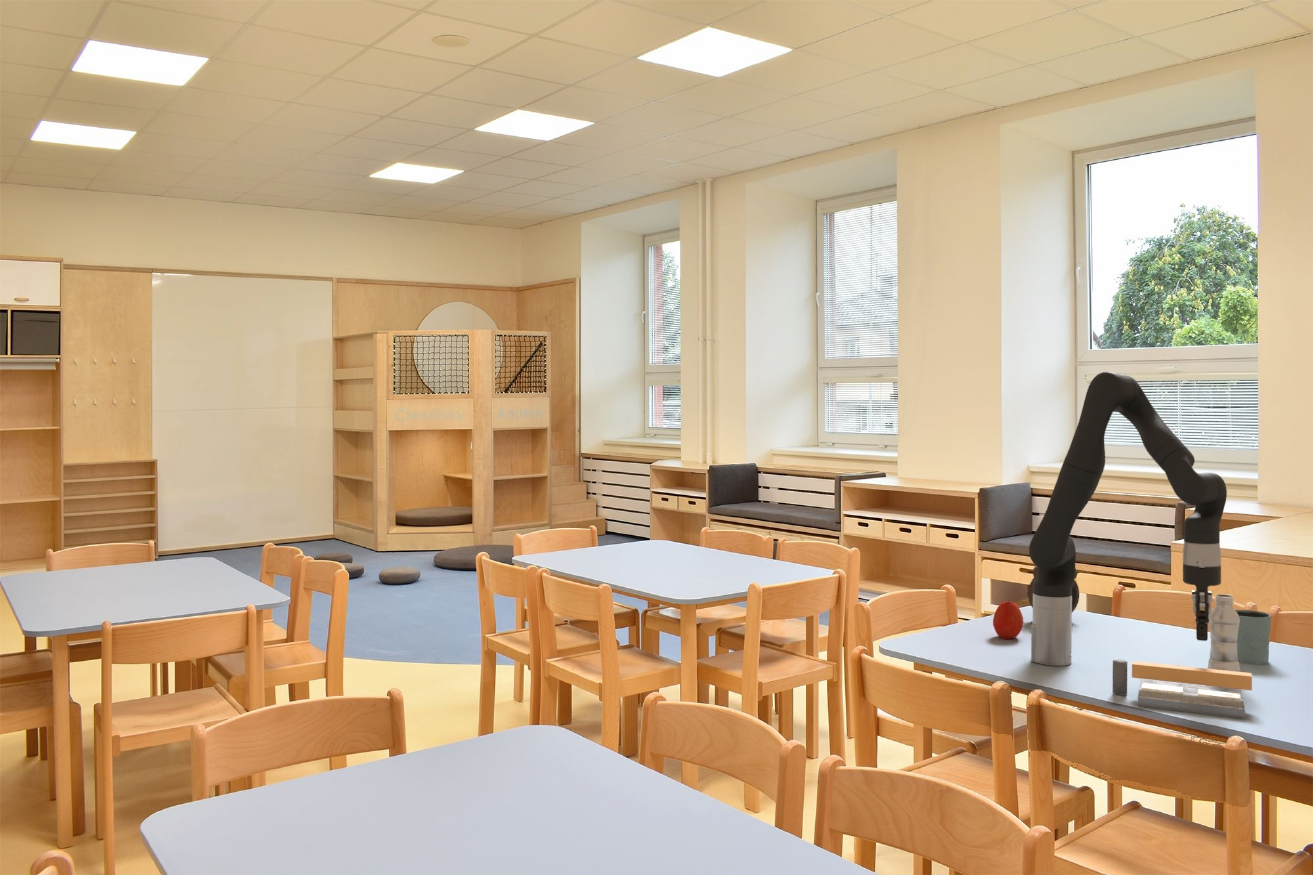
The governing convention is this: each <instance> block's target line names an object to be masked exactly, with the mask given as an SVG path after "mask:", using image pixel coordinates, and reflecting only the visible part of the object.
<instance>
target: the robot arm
mask: <svg viewBox="0 0 1313 875" xmlns="http://www.w3.org/2000/svg"><path fill="white" fill-rule="evenodd" d="M1114 412H1115V413H1119V414H1120V415H1121V416H1123V417H1124V418H1126V420H1128V421H1129V422H1130V423H1131V424H1132V425H1133V426H1134V428H1135V430H1136V431H1137V432H1138V435H1139V437H1140V439H1141V442H1142V444H1143V447H1144V448H1145V450H1146V452H1147V453H1148V455H1149V456H1150V457H1151V458H1152V460H1153V461H1154V462H1155V463H1156V464H1157V465H1158V466H1159V467H1160V469H1161V470H1162V471H1163V472H1164V474H1165V475H1166V478H1167V480H1168V483H1169V484H1170V486H1171V488H1172V490H1173V492H1174V493H1175V495H1176V496H1177V497H1178V499H1180V500H1181V501H1182V502H1183V503H1185V504H1187V505H1190V506H1195V507H1194V511H1193V513H1192V514H1190V515H1189V516H1187V517H1186V518H1185V519H1184V521H1183V548H1182V582H1183V583H1184V584H1187V585H1190V586H1195V590H1191V600H1192V606H1193V608H1192V609H1193V610H1192V611H1193V614H1194V616H1195V618H1194V622H1195V624H1196V625H1195V626H1196V630H1195V633H1196V637H1195V638H1196V640H1197V641H1203V642H1206V641H1208V638H1209V637H1208V635H1209V634H1208V632H1209V630H1208V629H1209V619H1208V617H1209V614H1211V610H1212V608H1211V606H1212V604H1211V603H1212V602H1213V592H1212V591H1209V587H1217V586H1219V585H1221V583H1222V551H1221V545H1220V544H1221V542H1220V541H1221V540H1220V539H1221V538H1220V537H1221V536H1220V535H1221V533H1220V529H1221V528H1220V525H1221V524H1220V523H1221V521H1222V518H1223V513H1224V510H1225V506H1226V502H1227V496H1228V489H1227V485H1226V482H1225V481H1224V479H1223V478H1222V476H1221V475H1219V474H1217V473H1214V472H1202V473H1201V472H1199V473H1198V472H1197V471H1196V470H1194V468H1193V466H1194V464H1195V461H1196V460H1195V456H1194V454H1193V453H1192V452H1191V451H1190V450H1189V448H1188V447H1187V446H1185V444H1184V443H1183V442H1182V441H1181V440H1180V439H1179V437H1178V436H1177V435H1176V434H1175V433H1174V431H1172V430H1171V428H1170V427H1169V426H1168V425H1167V424H1166V423H1165V421H1164V420H1163V419H1162V417H1161V416H1160V415H1159V413H1158V412H1157V410H1156V409H1155V407H1154V406H1153V405H1152V403H1151V402H1150V399H1149V398H1148V397H1147V395H1146V393H1145V392H1144V390H1143V388H1142V387H1141V385H1140V384H1139V382H1138V381H1137V380H1136V379H1135V378H1134V377H1132V376H1130V375H1127V374H1122V373H1117V372H1114V371H1102V372H1099V373H1098V374H1096V375H1095V376H1094V377H1093V379H1092V380H1091V381H1090V383H1089V385H1088V387H1087V391H1086V394H1085V397H1084V401H1083V406H1082V408H1081V412H1080V416H1079V419H1078V424H1077V426H1076V428H1075V431H1074V434H1073V436H1072V439H1071V442H1070V445H1069V447H1068V450H1067V453H1066V455H1065V458H1064V459H1063V462H1062V465H1061V467H1060V471H1059V473H1058V476H1057V479H1056V481H1055V482H1056V483H1055V484H1054V487H1053V489H1052V493H1051V495H1050V499H1049V501H1048V505H1047V508H1046V511H1045V512H1044V514H1043V517H1042V519H1041V521H1040V523H1039V525H1038V527H1037V529H1036V530H1035V532H1034V535H1033V536H1032V538H1031V540H1030V543H1029V545H1028V552H1029V553H1028V554H1029V558H1030V560H1031V561H1032V562H1031V563H1033V564H1034V565H1035V566H1037V567H1038V574H1037V577H1036V579H1035V581H1034V583H1033V608H1032V623H1031V627H1030V628H1031V629H1030V630H1031V631H1030V634H1031V636H1030V639H1031V640H1030V641H1031V642H1030V645H1031V646H1030V662H1031V663H1037V664H1041V665H1046V666H1055V667H1056V666H1057V667H1058V666H1060V667H1061V666H1068V665H1071V664H1072V656H1073V653H1072V650H1073V649H1072V648H1073V647H1072V646H1073V645H1072V644H1073V643H1072V642H1073V641H1072V638H1073V637H1072V634H1073V632H1072V631H1073V629H1072V627H1073V626H1072V625H1073V624H1072V623H1073V612H1072V587H1073V584H1074V580H1075V581H1076V578H1075V568H1076V564H1077V563H1076V557H1077V556H1076V555H1077V554H1076V553H1077V552H1076V545H1075V541H1074V540H1073V538H1072V536H1071V533H1072V529H1073V528H1074V525H1075V522H1076V520H1077V519H1078V517H1079V516H1080V514H1081V513H1082V512H1083V511H1084V509H1085V507H1086V506H1087V505H1088V503H1089V502H1090V500H1091V499H1092V497H1093V495H1094V494H1095V492H1096V489H1097V487H1098V485H1099V483H1100V480H1101V479H1102V475H1103V473H1104V470H1105V466H1106V449H1105V436H1106V431H1107V429H1108V428H1107V427H1108V425H1109V422H1110V420H1111V417H1112V415H1113V413H1114Z"/></svg>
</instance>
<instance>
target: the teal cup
mask: <svg viewBox="0 0 1313 875" xmlns="http://www.w3.org/2000/svg"><path fill="white" fill-rule="evenodd" d="M1235 611H1236V612H1237V614H1238V615H1239V618H1240V623H1239V629H1238V635H1237V655H1238V662H1239V664H1240V663H1241V664H1248V665H1266V664H1268V663H1269V658H1270V650H1269V648H1270V643H1271V641H1270V635H1271V626H1272V624H1271V623H1272V614H1270V613H1268V612H1266V611H1265V612H1264V611H1258V610H1248V609H1247V610H1246V609H1235Z"/></svg>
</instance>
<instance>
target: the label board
mask: <svg viewBox="0 0 1313 875" xmlns="http://www.w3.org/2000/svg"><path fill="white" fill-rule="evenodd" d="M1137 707H1142V708H1149V709H1157V710H1167V711H1174V712H1175V711H1176V712H1183V713H1192V714H1200V715H1206V716H1215V717H1216V716H1217V717H1224V718H1233V719H1240V720H1241V719H1242V720H1246V708H1245V703H1244V696H1243V691H1242V689H1233V688H1224V687H1215V686H1205V685H1196V684H1187V683H1178V682H1168V681H1159V680H1150V679H1141V678H1140V683H1139V689H1138V695H1137Z"/></svg>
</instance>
